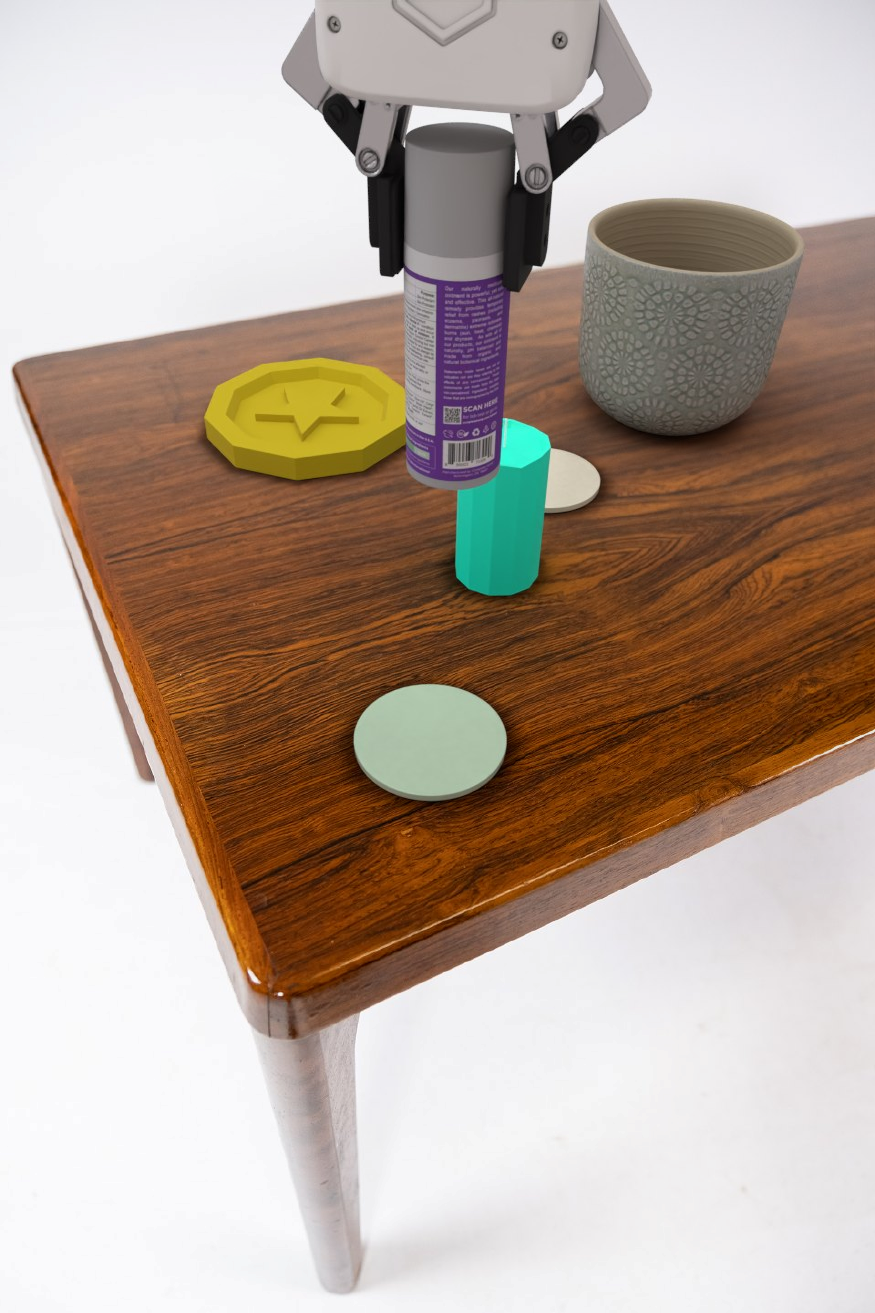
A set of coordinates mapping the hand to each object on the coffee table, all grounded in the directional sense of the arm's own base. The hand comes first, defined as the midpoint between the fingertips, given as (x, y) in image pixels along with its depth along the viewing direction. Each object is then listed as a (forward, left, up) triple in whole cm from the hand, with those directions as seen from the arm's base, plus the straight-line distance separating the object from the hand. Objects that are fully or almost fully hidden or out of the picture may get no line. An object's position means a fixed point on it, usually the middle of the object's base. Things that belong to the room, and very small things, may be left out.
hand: (457, 268), depth 44 cm
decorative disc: (+20, -30, -27) cm, 45 cm away
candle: (0, -15, -27) cm, 31 cm away
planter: (-9, -42, -27) cm, 51 cm away
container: (0, 0, -10) cm, 10 cm away
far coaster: (-1, -27, -27) cm, 38 cm away
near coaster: (0, +3, -27) cm, 27 cm away
